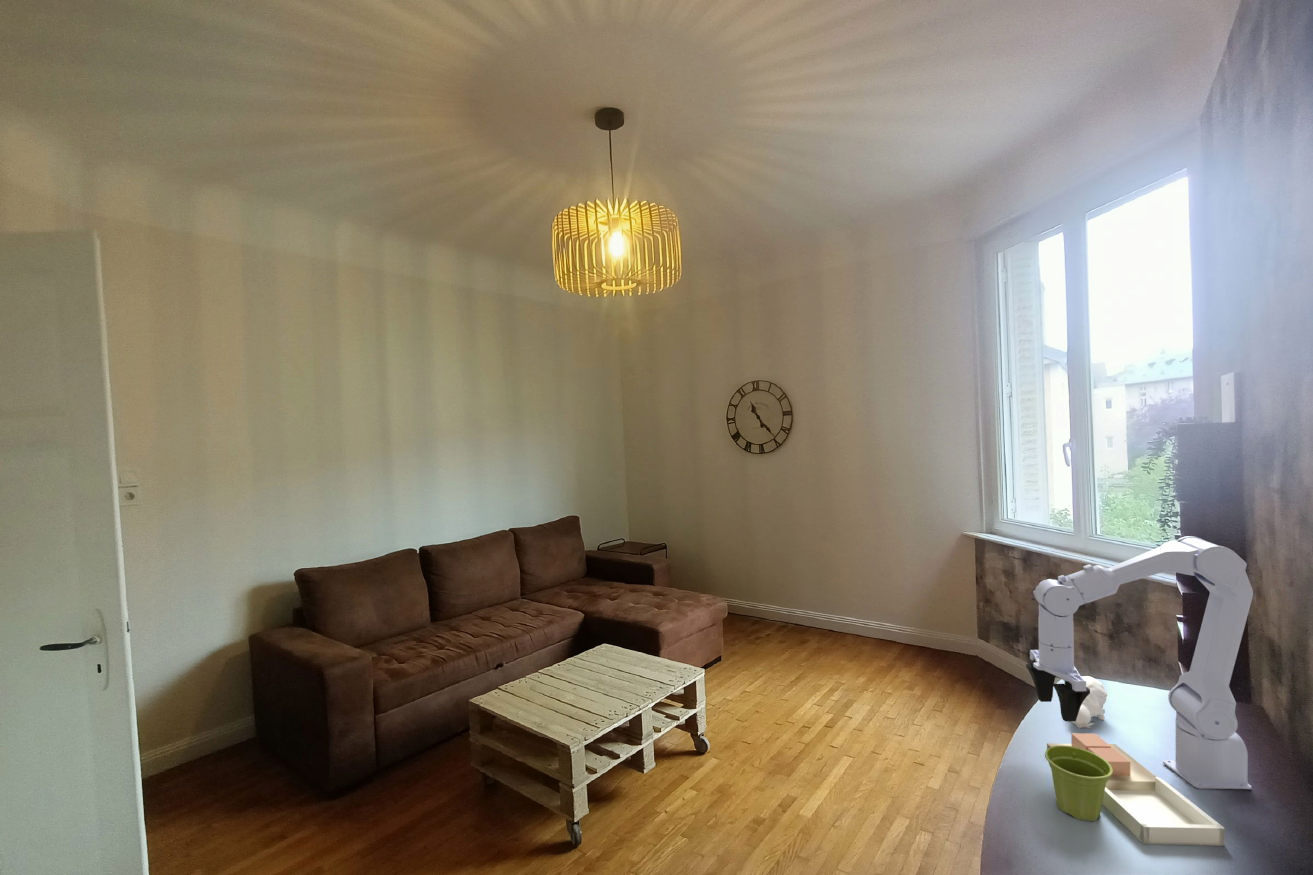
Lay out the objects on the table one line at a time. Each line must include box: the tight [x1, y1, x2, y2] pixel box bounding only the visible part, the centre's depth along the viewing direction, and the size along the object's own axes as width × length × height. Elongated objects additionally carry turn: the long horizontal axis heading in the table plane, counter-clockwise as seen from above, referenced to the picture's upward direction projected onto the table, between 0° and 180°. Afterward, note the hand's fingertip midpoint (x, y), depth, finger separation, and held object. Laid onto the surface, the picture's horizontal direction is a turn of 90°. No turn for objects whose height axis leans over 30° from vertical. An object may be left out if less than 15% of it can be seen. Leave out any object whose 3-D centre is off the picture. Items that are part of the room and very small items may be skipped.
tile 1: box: [1070, 732, 1111, 751], centre depth 114 cm, size 4×4×2 cm
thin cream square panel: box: [1046, 742, 1157, 791], centre depth 111 cm, size 13×12×2 cm
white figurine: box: [1070, 675, 1108, 729], centre depth 129 cm, size 6×8×12 cm
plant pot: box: [1044, 746, 1113, 822], centre depth 101 cm, size 9×9×9 cm
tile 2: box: [1088, 748, 1130, 775], centre depth 109 cm, size 4×4×2 cm
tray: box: [1102, 776, 1226, 847], centre depth 99 cm, size 12×13×3 cm
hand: (1056, 710), depth 116 cm, fingers open, 7 cm apart
